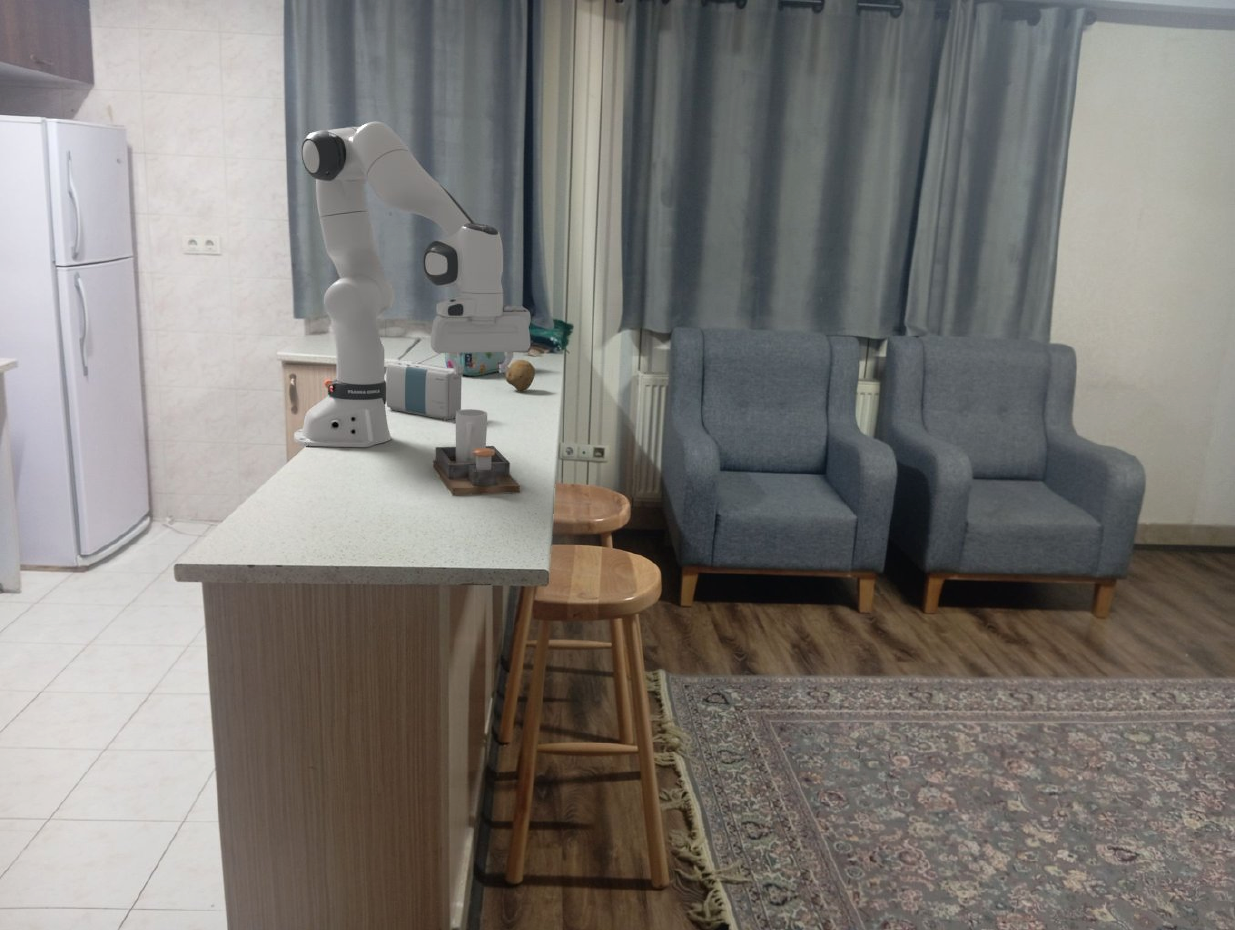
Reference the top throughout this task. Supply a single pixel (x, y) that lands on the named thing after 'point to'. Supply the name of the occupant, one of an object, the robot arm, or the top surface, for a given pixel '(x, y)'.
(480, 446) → the mug
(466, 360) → the lunch box
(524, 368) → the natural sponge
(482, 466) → the click button
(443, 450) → the board
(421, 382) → the stereo radio cassette player
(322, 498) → the top surface
